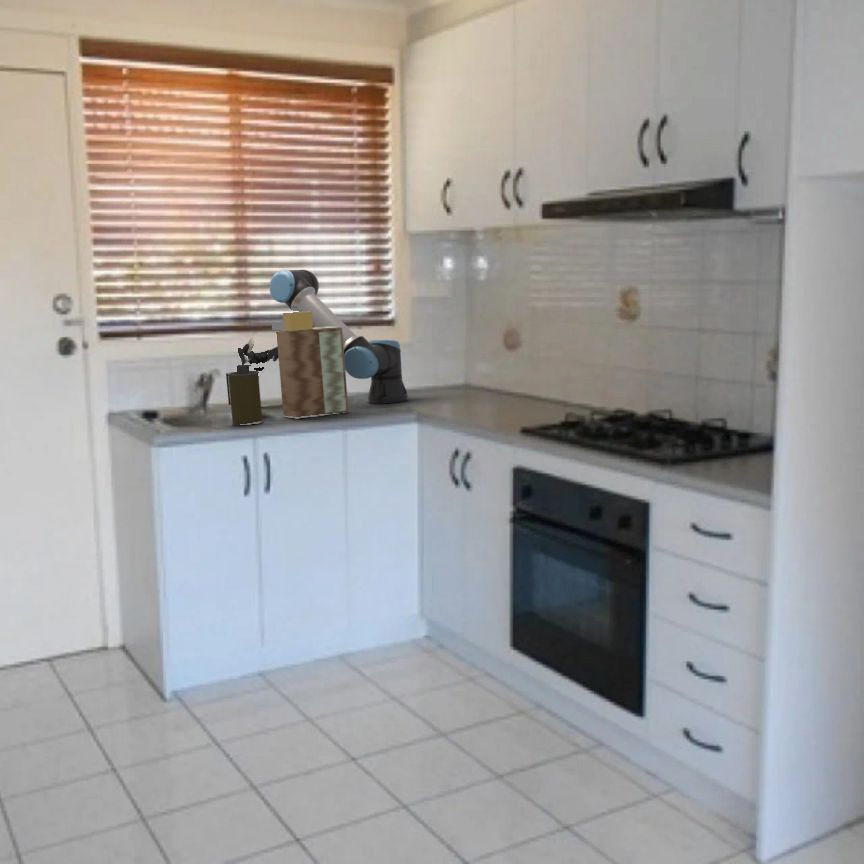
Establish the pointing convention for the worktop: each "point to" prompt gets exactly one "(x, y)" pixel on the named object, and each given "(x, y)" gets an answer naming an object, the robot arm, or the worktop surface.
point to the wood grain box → (312, 371)
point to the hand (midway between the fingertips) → (270, 339)
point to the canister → (244, 395)
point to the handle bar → (294, 322)
